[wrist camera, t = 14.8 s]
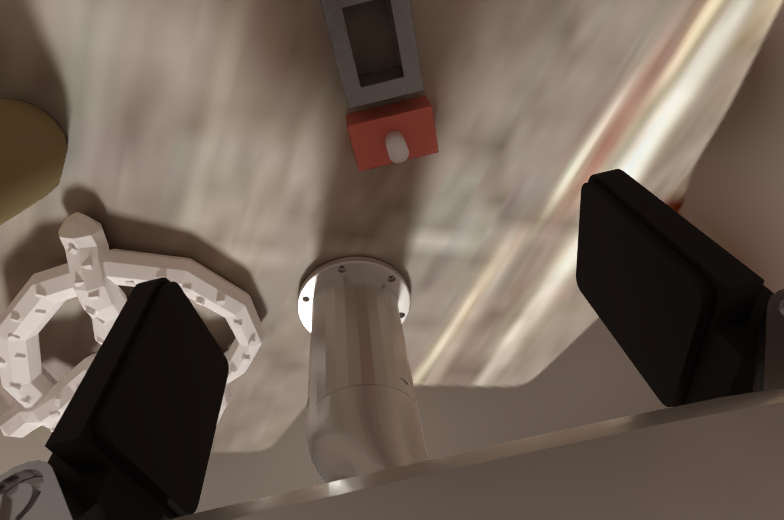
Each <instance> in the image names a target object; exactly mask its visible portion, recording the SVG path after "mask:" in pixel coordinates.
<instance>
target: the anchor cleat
mask: <svg viewBox="0 0 784 520" xmlns="http://www.w3.org/2000/svg"><path fill="white" fill-rule="evenodd" d="M346 122H347V128H348V132H349V136H350V140H351V143H352V147H353V151H354V154H355V158H356V162H357V165H358V169H359V171H362V170H367V169H371V168H375V167H379V166H383V165H387V164H391V163H402V162H404V161H406V160H408V159H412V158H416V157H420V156H425V155H429V154H433V153H437V152H438V145H437V138H436V131H435V125H434V118H433V111H432V106H431V104H430V102H429V101H428V99H427V98H426V96H421V97H417V98H413V99H409V100H405V101H401V102H397V103H392V104H388V105H384V106H380V107H376V108H372V109H368V110H364V111H360V112H356V113H352V114H348V115H346Z"/></svg>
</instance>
